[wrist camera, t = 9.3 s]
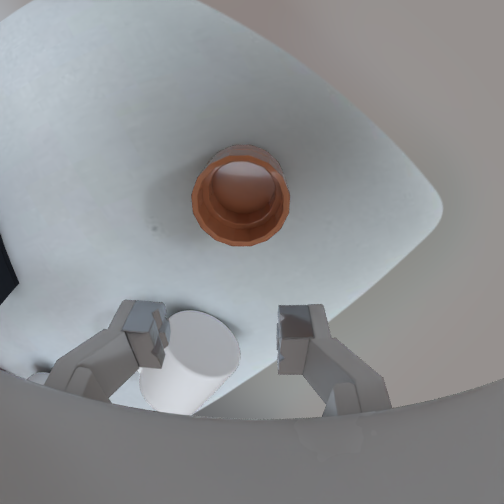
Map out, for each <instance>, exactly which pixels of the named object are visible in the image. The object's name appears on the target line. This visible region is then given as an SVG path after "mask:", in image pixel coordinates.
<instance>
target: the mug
mask: <svg viewBox="0 0 504 504" xmlns="http://www.w3.org/2000/svg"><path fill="white" fill-rule="evenodd" d="M168 320H169V323H170V329H171V334H170V341H169V345H168V346H167V347H166V348H165V349H164V351H165V358H164V362H163V365H162V369H156V368H145V367H139V369H138V370H137V372H139V373H140V377H139V386H140V390H141V393H142V395H143V397H144V399H145V400H146V402H147V403H148V404H149V405H150V406H151V407H152V408H153V409H155V410H156V411H158V412H165V413H173V414H181V415H191V414H193V413H195V412H196V411H197V410H198V409H199V408H200V407H201V406H202V405H203V404H204V403H205V402H206V401H207V400H208V399H209V398H210V397H211V396H212V395H213V394H214V393H215V392H216V391H217V390H218V389H219V388H220V387H221V386H222V384H223V383H224V382H225V381H226V380H227V379H228V378H229V377H230V376H231V375H232V374H233V373H234V372H235V371H236V369H237V368H238V366H239V363H240V357H241V353H240V348H239V344H238V342H237V340H236V338H235V336H234V335H233V333H232V332H231V331H230V330H229V328H228V327H227V326H226V325H224V324H223V323H222V322H221V321H219V320H218V319H216V318H215V317H213V316H211V315H209V314H206V313H203V312H199V311H193V310H187V311H181V312H178V313H175V314H173V315H172V316H171V317H169V318H168Z"/></svg>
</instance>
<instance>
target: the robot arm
mask: <svg viewBox="0 0 504 504" xmlns="http://www.w3.org/2000/svg"><path fill="white" fill-rule="evenodd" d="M166 312H167V310H166V307H165V304H164V303H163V302H151V301H139V300H137V301H136V300H124V301H122V303H121V305H120V307H119V308H118V310H117V312H116V314H115V316H114V318H113V320H112V322H111V324H110V325H109V327H108V329H103V330H102V331H100V332H99V333H97V334H96V335H94V336H93V337H91V338H90V339H88V340H87V341H85V342H84V343H82V344H81V345H79V346H78V347H76V348H75V349H73V350H71V351H70V352H68V353H67V354H65V355H64V356H62V357H61V358H59V359H58V360H57V361H56V363H55V364H54V366H53V368H52V370H51V372H50V374H49V376H48V378H47V380H46V381H45V383H44V385H41V384H38V383H35V382H32V381H30V380H27V379H24V378H21V377H19V376H16V375H13V374H11V373H8V372H6V371H3V370H1V369H0V504H504V378H503V379H500V380H498V381H495V382H492V383H489V384H486V385H483V386H480V387H477V388H474V389H470V390H467V391H464V392H460V393H457V394H453V395H450V396H446V397H442V398H438V399H434V400H430V401H425V402H421V403H416V404H412V405H407V406H402V407H396V408H392V406H391V403H390V399H389V395H388V392H387V389H386V386H385V382H384V379H383V377H382V376H380V375H379V374H378V373H377V372H376V371H374V370H373V369H372V368H371V367H370V366H368V365H367V364H366V363H365V362H364V361H362V360H361V359H360V358H359V357H358V356H357V355H355V354H354V353H353V352H352V351H351V350H350V349H348V348H347V347H346V346H345V345H344V344H342V343H341V342H340V341H339V340H338V339H337V338H331V334H330V330H329V326H328V321H327V317H326V313H325V309H324V306H323V305H322V304H309V305H279V306H278V323H277V350H278V357H277V363H278V374H280V375H281V374H283V375H285V374H286V375H287V374H288V375H295V374H296V375H298V374H299V375H300V374H301V375H303V376H304V378H305V379H306V380H307V381H308V383H309V384H310V385H311V386H312V388H313V389H314V390H315V391H316V392H317V394H318V395H319V396H320V397H321V399H322V400H323V401H324V402H325V404H326V407H325V410H324V412H323V415H322V417H315V418H295V419H234V418H233V419H232V418H214V417H202V416H191V415H181V414H173V413H165V412H158V411H151V410H145V409H139V408H133V407H128V406H122V405H117V404H112V403H111V401H110V400H109V397H110V396H111V395H112V394H113V393H114V392H115V391H116V390H117V389H118V388H119V387H121V386H122V385H123V384H124V383H125V382H126V381H127V380H128V379H129V378H130V377H131V376H132V375H133V374H134V373H135V372H136V371H137V370H138V369H139V367H145V368H156V369H162V365H163V362H164V358H165V351H164V349H165V348H166V347H167V346H168V345H169V341H170V334H171V329H170V323H169V320H168V319H167V318H166V317H165V315H166Z"/></svg>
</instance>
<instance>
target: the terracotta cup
mask: <svg viewBox="0 0 504 504" xmlns="http://www.w3.org/2000/svg"><path fill="white" fill-rule="evenodd" d="M191 197H192V208H193V214H194V216H195V217H196V219H197V221H198V223H199V225H200V227H201V228H202V229H203V230H204V231H205V232H206V233H207V234H209V235H210V236H211V237H212V238H213V239H215V240H216V241H219V242H222V243H225V244H227V245H230V246H253V245H256V244H258V243H261V242H264V241H267V240H268V239H270V238H271V237H272V236H273V235H274V234H275V233H277V232H278V231H279V230H280V229H281V228H282V226H283V224H284V222H285V220H286V218H287V216H288V214H289V204H290V193H289V190H288V186H287V183H286V179H285V176H284V173H283V171H282V168H281V166H280V164H279V162H278V161H277V160H276V159H275V158H274V157H273V156H272V155H271V154H270V153H269V152H267V151H266V150H263V149H261V148H258V147H256V146H253V145H233V146H230V147H228V148H225V149H223V150H221V151H219V152H218V153H217V154H216V155H215V156H214V157H213V158H212V159H211V160H210V161H209V162H208V163H207V165H206V166H205V167H204V169H203V170H202V172H201V173H200V175H199V176H198V178H197V180H196V183H195V186H194V188H193V191H192V195H191Z"/></svg>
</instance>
